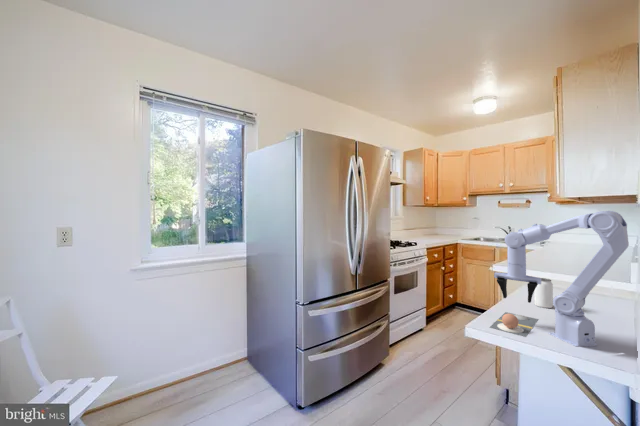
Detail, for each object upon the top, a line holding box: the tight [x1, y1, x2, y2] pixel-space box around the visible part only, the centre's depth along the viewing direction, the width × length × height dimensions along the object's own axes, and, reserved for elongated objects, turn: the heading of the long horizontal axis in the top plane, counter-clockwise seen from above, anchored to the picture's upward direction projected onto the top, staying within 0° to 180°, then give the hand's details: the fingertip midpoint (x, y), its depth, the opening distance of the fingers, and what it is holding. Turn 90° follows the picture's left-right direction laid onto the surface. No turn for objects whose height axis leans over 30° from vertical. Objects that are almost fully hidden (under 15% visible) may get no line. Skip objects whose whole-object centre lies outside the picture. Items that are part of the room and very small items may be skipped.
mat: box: [489, 311, 539, 338], centre depth 106 cm, size 22×11×1 cm, turn 133°
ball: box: [502, 313, 519, 328], centre depth 101 cm, size 5×5×5 cm
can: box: [533, 277, 554, 309], centre depth 125 cm, size 6×6×12 cm
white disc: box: [497, 323, 524, 334], centre depth 101 cm, size 8×8×1 cm
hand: (517, 299), depth 105 cm, fingers open, 7 cm apart
